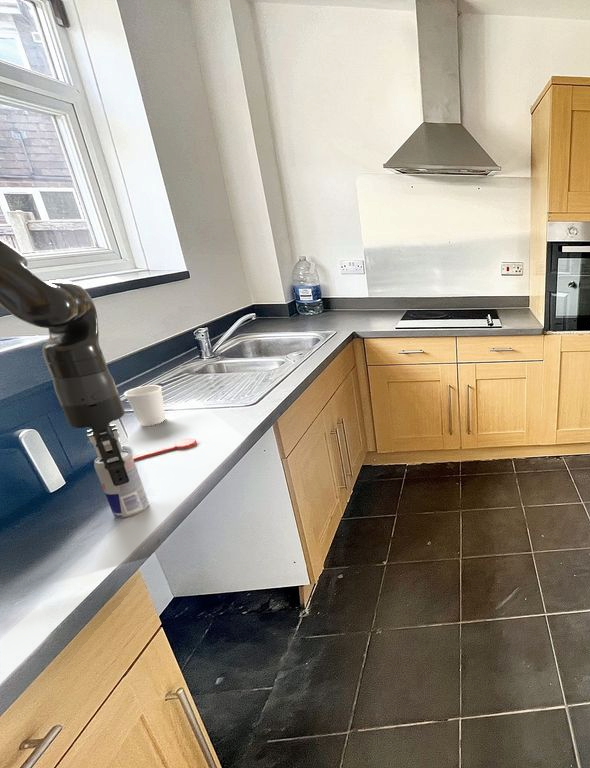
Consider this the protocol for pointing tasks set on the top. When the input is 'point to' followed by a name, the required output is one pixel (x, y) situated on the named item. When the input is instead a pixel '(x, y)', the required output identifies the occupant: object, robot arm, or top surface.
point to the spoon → (169, 448)
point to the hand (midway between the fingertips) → (120, 477)
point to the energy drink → (123, 488)
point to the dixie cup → (147, 404)
